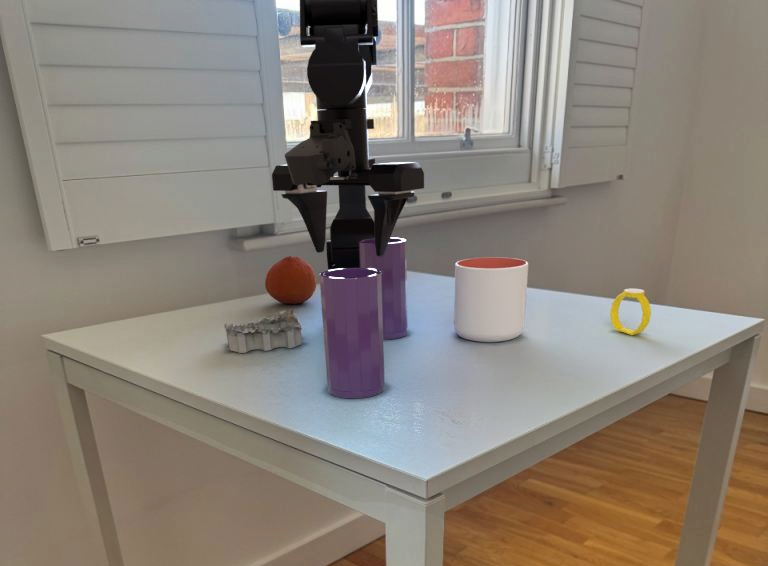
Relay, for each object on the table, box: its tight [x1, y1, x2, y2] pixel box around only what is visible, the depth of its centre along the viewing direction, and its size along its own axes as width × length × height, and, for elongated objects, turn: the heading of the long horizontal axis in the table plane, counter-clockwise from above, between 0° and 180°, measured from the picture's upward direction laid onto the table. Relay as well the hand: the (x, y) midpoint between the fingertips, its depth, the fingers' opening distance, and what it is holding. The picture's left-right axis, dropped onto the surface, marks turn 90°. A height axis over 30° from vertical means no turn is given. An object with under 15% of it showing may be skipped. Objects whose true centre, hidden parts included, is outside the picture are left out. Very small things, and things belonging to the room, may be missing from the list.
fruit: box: [264, 255, 317, 305], centre depth 123 cm, size 9×9×8 cm
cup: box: [453, 256, 529, 343], centre depth 99 cm, size 10×10×10 cm
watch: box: [609, 287, 652, 336], centre depth 98 cm, size 6×3×6 cm, turn 32°
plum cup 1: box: [319, 268, 386, 399], centre depth 78 cm, size 7×7×13 cm
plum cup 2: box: [358, 237, 408, 341], centre depth 100 cm, size 7×7×13 cm
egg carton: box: [224, 308, 303, 354], centre depth 99 cm, size 11×8×4 cm
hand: (349, 254), depth 87 cm, fingers open, 9 cm apart
